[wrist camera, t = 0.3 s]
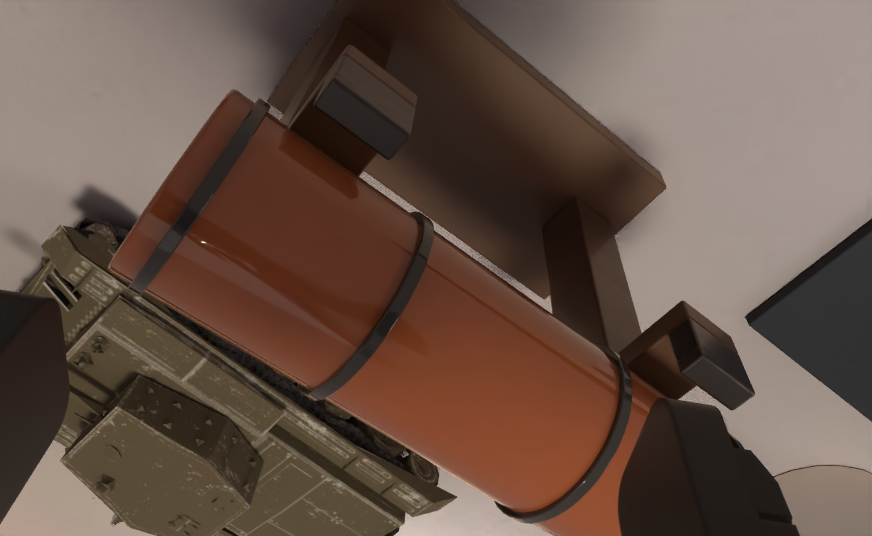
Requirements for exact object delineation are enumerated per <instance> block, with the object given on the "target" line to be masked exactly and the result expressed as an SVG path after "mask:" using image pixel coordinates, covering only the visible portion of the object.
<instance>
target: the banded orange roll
mask: <svg viewBox="0 0 872 536" xmlns="http://www.w3.org/2000/svg"><path fill="white" fill-rule="evenodd" d="M269 109H270V105H269V104H268V103H266V102H265V101H264V100H262V99H261V98H258V99H257V100H256V102H255V103H254V102H253V101H251V100H250V99H248V98H247V97H246V96H244V95H243V94H241V93H240V92H239V91H237V90H235V89H232V90H230V91H229V92H228V93H227V94H226V96H225V97H224V98H223V100H222V101H221V102H220V104H219V105H218V106H217V108H216V109H215V110H214V112H213V113H212V114H211V116H210V117H209V119H208V120H207V121H206V123H205V124H204V125H203V127H202V128H201V130H200V131H199V132H198V134H197V135H196V137H195V138H194V139H193V141H192V142H191V144H190V145H189V146H188V148H187V149H186V151H185V152H184V154H183V155H182V156H181V158H180V159H179V161H178V162H177V164H176V165H175V166H174V168H173V169H172V171H171V172H170V174H169V175H168V176H167V178H166V179H165V181H164V182H163V184H162V185H161V186H160V188H159V189H158V191H157V192H156V194H155V195H154V197H153V198H152V200H151V201H150V202H149V204H148V205H147V207H146V208H145V210H144V211H143V213H142V214H141V216H140V217H139V219H138V220H137V221H136V223H135V224H134V226H133V227H132V229H131V230H130V232H129V233H128V235H127V236H126V238H125V239H124V241H123V242H122V244H121V245H120V247H119V248H118V250H117V252H116V253H115V255H114V256H113V258H112V259H111V261H110V263H109V265H108V270H109V271H110V272H111V273H113V274H115V275H116V276H118V277H120V278H121V279H123V280H125V281H126V282H128V283H130V284H129V285H128V287H127V291H129V292H130V293H132V294H134V295H135V296H137V297H140V296H141V295H142V294H143V293H144V292H145V293H147V294H148V295H150V296H152V297H153V298H155V299H157V300H158V301H160V302H162V303H163V304H165V305H167V306H168V307H170V308H172V309H174V310H175V311H177V312H179V313H180V314H182V315H184V316H185V317H187V318H189V319H190V320H192V321H194V322H195V323H197V324H199V325H200V326H202V327H204V328H205V329H207V330H209V331H210V332H212V333H214V334H215V335H217V336H219V337H221V338H222V339H224V340H226V341H227V342H229V343H231V344H232V345H234V346H236V347H237V348H239V349H241V350H242V351H244V352H246V353H247V354H249V355H251V356H252V357H254V358H256V359H257V360H259V361H261V362H263V363H264V364H266V365H268V366H269V367H271V368H273V369H274V370H276V371H278V372H279V373H281V374H283V375H284V376H286V377H288V378H289V379H291V380H293V381H294V382H296V383H297V386H298V390H299V391H300V393H301V394H303V395H304V396H306V397H308V398H310V399H311V400H317V401H318V400H322V399H325V400H326V401H328V402H330V403H331V404H333V405H335V406H336V407H338V408H340V409H341V410H343V411H345V412H346V413H348V414H350V415H352V416H353V417H355V418H357V419H358V420H360V421H362V422H363V423H365V424H367V425H368V426H370V427H372V428H373V429H375V430H377V431H378V432H380V433H382V434H383V435H385V436H387V437H388V438H390V439H392V440H393V441H395V442H397V443H399V444H400V445H402V446H404V447H405V448H407V449H409V450H410V451H412V452H414V453H415V454H417V455H419V456H420V457H422V458H424V459H425V460H427V461H429V462H430V463H432V464H434V465H435V466H437V467H439V468H441V469H442V470H444V471H446V472H447V473H449V474H451V475H452V476H454V477H456V478H457V479H459V480H461V481H462V482H464V483H466V484H467V485H469V486H471V487H472V488H474V489H476V490H477V491H479V492H481V493H482V494H484V495H486V496H488V497H489V498H491V499H493V500H494V502H495V503H496V505H497V507H498V508H499V509H500V510H501V511H502V512H503V513H504V514H506V515H507V516H509V517H511V518H512V519H514V520H516V521H518V522H522V523H530V524H535V525H536V526H538V527H540V528H541V529H543V530H545V531H546V532H548V533H550V534H551V535H553V536H621V530H620V525H619V519H618V494H619V487H620V482H621V478H622V475H623V472H624V470H625V467H626V465H627V463H628V460H629V458H630V456H631V453H632V451H633V449H634V446H635V444H636V442H637V439H638V437H639V435H640V432H641V430H642V427H643V425H644V423H645V420H646V418H647V416H648V413H649V411H650V409H651V407H652V405H653V403H654V402H655V401H656V400H657V399H658V398H668V399H670V398H669V397H668V396H666V395H665V394H663V393H662V392H661V391H659V390H658V389H656V388H655V387H654V386H652V385H651V384H649V383H648V382H647V381H645V380H644V379H642V378H641V377H640V376H638V375H637V374H635V373H634V372H633V371H631V370H630V369H629V368H628V366H627V364H626V363H625V361H624V359H623V358H622V357H621V356H620V355H619V354H618V353H616V352H615V351H613V350H612V349H610V348H609V347H607V346H605V345H602V344H598V343H592V342H590V341H589V340H587V339H586V338H585V337H583V336H582V335H580V334H579V333H578V332H576V331H575V330H573V329H572V328H571V327H569V326H568V325H566V324H565V323H564V322H562V321H561V320H559V319H558V318H557V317H555V316H554V315H552V314H551V313H550V312H548V311H547V310H545V309H544V308H542V307H541V306H540V305H538V304H537V303H535V302H534V301H533V300H531V299H530V298H528V297H527V296H526V295H524V294H523V293H521V292H520V291H519V290H517V289H516V288H514V287H513V286H512V285H510V284H509V283H507V282H506V281H504V280H503V279H502V278H500V277H499V276H497V275H496V274H495V273H493V272H492V271H490V270H489V269H488V268H486V267H485V266H483V265H482V264H481V263H479V262H478V261H476V260H475V259H474V258H472V257H471V256H469V255H468V254H467V253H465V252H464V251H462V250H461V249H459V248H458V247H457V246H455V245H454V244H452V243H451V242H450V241H448V240H447V239H445V238H444V237H443V236H441V235H440V234H438V233H437V232H436V231H434V226H433V223H432V222H431V220H430V219H429V218H427V217H426V216H425V215H423V214H422V213H420V212H411V213H409V212H407V211H406V210H405V209H403V208H402V207H400V206H399V205H398V204H396V203H395V202H393V201H392V200H391V199H389V198H388V197H386V196H385V195H384V194H382V193H381V192H379V191H378V190H376V189H375V188H374V187H372V186H371V185H369V184H368V183H367V182H365V181H364V180H362V179H361V178H360V177H358V176H357V175H355V174H354V173H353V172H351V171H350V170H348V169H347V168H346V167H344V166H343V165H341V164H340V163H338V162H337V161H336V160H334V159H333V158H331V157H330V156H329V155H327V154H326V153H324V152H323V151H322V150H320V149H319V148H317V147H316V146H315V145H313V144H312V143H310V142H309V141H308V140H306V139H305V138H303V137H302V136H301V135H299V134H298V133H296V132H295V131H293V130H292V129H291V128H289V127H288V126H286V125H285V124H284V123H282V122H281V121H279V120H278V119H277V118H275V117H274V116H272V115H271V114H270V113H268V111H269ZM728 434H729V433H728ZM729 436H730V439H731V442H732V444H733V447H734V448H738V449H744V448H743V446H742V445H741V443H740V442H739V441H738V440H737V439H736V438H735V437H734V436H732V435H731V434H729Z"/></svg>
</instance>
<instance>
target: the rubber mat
mask: <svg viewBox="0 0 872 536" xmlns="http://www.w3.org/2000/svg"><path fill="white" fill-rule="evenodd" d="M746 320H747V322H748V324H749V326H751V327H752V328H753V329H755V330H756V331H757V332H758V333H760V334H761V335H762V336H763V337H765V338H766V339H767V340H769V341H770V342H771V343H772V344H774V345H775V346H776V347H777V348H779V349H780V350H781V351H783V352H784V353H785V354H786V355H788V356H789V357H790V358H791V359H793V360H794V361H795V362H797V363H798V364H799V365H800V366H802V367H803V368H804V369H805V370H807V371H808V372H809V373H811V374H812V375H813V376H814V377H816V378H817V379H818V380H819V381H821V382H822V383H823V384H825V385H826V386H827V387H828V388H830V389H831V390H832V391H833V392H835V393H836V394H837V395H839V396H840V397H841V398H842V399H844V400H845V401H846V402H847V403H849V404H850V405H851V406H853V407H854V408H855V409H856V410H858V411H859V412H860V413H861V414H863V415H864V416H865V417H867V418H868V419H869V420H870V421H872V220H871V221H870V222H869V223H868V224H866V225H865V226H864V227H862V228H861V229H860V230H859V231H857V232H856V233H855V234H853V235H852V236H851V237H849V238H848V239H847V240H846V241H844V242H843V243H842V244H840V245H839V246H838V247H836V248H835V249H834V250H833V251H831V252H830V253H829V254H827V255H826V256H825V257H824V258H822V259H821V260H820V261H818V262H817V263H816V264H814V265H813V266H812V267H811V268H809V269H808V270H807V271H805V272H804V273H803V274H801V275H800V276H799V277H798V278H796V279H795V280H794V281H792V282H791V283H790V284H788V285H787V286H786V287H785V288H783V289H782V290H781V291H779V292H778V293H777V294H776V295H774V296H773V297H772V298H770V299H769V300H768V301H766V302H765V303H764V304H763V305H761V306H760V307H759V308H757V309H756V310H755V311H753V312H752V313H751V314H750V315H748V316H747V317H746Z"/></svg>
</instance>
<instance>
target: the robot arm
mask: <svg viewBox="0 0 872 536" xmlns="http://www.w3.org/2000/svg"><path fill="white" fill-rule="evenodd" d="M69 394H70V384H69V375H68V366H67V358H66V349H65V340H64V332H63V323H62V315H61V309H60V306H59V304H58V302H57V301H56V300H55V299H53V298H49V297H43V296H37V295H31V294H24V293H18V292H12V291H6V290H0V524H1V522H2V521H3V519H4V517H5V516H6V514H7V513H8V511H9V509H10V508H11V506H12V505H13V503H14V502H15V500H16V498H17V497H18V495H19V494H20V492H21V490H22V489H23V487H24V486H25V484H26V482H27V481H28V479H29V478H30V476H31V475H32V473H33V471H34V470H35V468H36V467H37V465H38V463H39V462H40V460H41V459H42V457H43V455H44V454H45V452H46V451H47V449H48V448H49V446H50V444H51V443H52V441H53V440H54V438H55V436H56V435H57V433H58V431H59V430H60V427H61V425H62V423H63V420H64V418H65V414H66V411H67V407H68V402H69ZM792 518H793V517H792V515H791V513H790V510H789V508H788V505H787V503H786V501H785V498H784V496H783V493H782V491H781V488H780V486H779V484H778V482H777V481H776V480H775V478H774V477H773V476H772V475H771V474H770V473H769V471H768V470H767V469H766V468H765V467H764V465H763V464H762V463H761V462H760V461H759V460H758V458H757V457H756V456H755V455H754V454H753V453H752V451H751V450H745V449H738V448H734V447H733V444H732V442H731V439H730V436H729V434H728V431H727V428H726V425H725V423H724V420H723V417H722V415H721V413H720V411H719V410H718V408H716V407H715V406H712V405H706V404H700V403H693V402H687V401H681V400H675V399H668V398H658V399H657V400H656V401H655V402H654V403H653V405H652V407H651V409H650V411H649V413H648V416H647V418H646V420H645V423H644V425H643V427H642V430H641V432H640V435H639V437H638V439H637V442H636V444H635V446H634V449H633V451H632V453H631V456H630V458H629V460H628V463H627V465H626V467H625V470H624V472H623V475H622V478H621V482H620V487H619V494H618V519H619V525H620V530H621V536H800V534H799V532H798V530H797V527H796V525H793V524H792Z"/></svg>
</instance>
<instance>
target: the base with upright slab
mask: <svg viewBox="0 0 872 536" xmlns="http://www.w3.org/2000/svg"><path fill="white" fill-rule="evenodd" d="M774 478H775V480H776V481H777V482H778V484H779V486H780V488H781V491H782V493H783V496H784V498H785V501H786V503H787V505H788V508H789V510H790V513H791V515H792V517H793V518H792V524H793V525H796V527H797V530H798V532H799V534H800V536H872V474H871V473H868V472H866V471H864V470H860V469H854V468H849V467H843V466H815V467H810V468H804V469H799V470H793V471H790V472H787V473H785V474H782V475H779V476H776V477H774Z"/></svg>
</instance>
